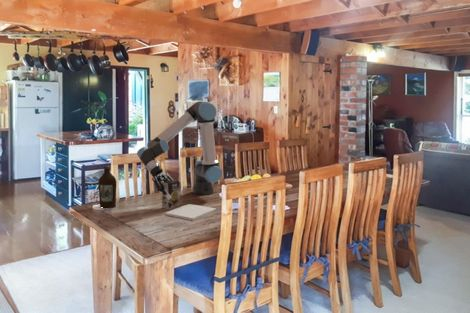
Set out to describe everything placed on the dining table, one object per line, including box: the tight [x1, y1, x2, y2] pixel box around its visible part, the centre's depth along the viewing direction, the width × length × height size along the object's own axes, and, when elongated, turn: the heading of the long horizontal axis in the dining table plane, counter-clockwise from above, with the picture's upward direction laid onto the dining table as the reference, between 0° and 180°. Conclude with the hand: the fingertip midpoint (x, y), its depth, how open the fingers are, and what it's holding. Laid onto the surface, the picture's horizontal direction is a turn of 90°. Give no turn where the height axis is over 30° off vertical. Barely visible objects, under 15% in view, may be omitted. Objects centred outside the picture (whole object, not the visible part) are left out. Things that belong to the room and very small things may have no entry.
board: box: [164, 203, 217, 221], centre depth 251 cm, size 24×20×1 cm
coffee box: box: [161, 179, 181, 210], centre depth 260 cm, size 9×6×16 cm
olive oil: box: [97, 165, 117, 209], centre depth 258 cm, size 11×11×25 cm
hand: (175, 197), depth 259 cm, fingers closed on coffee box, 9 cm apart
